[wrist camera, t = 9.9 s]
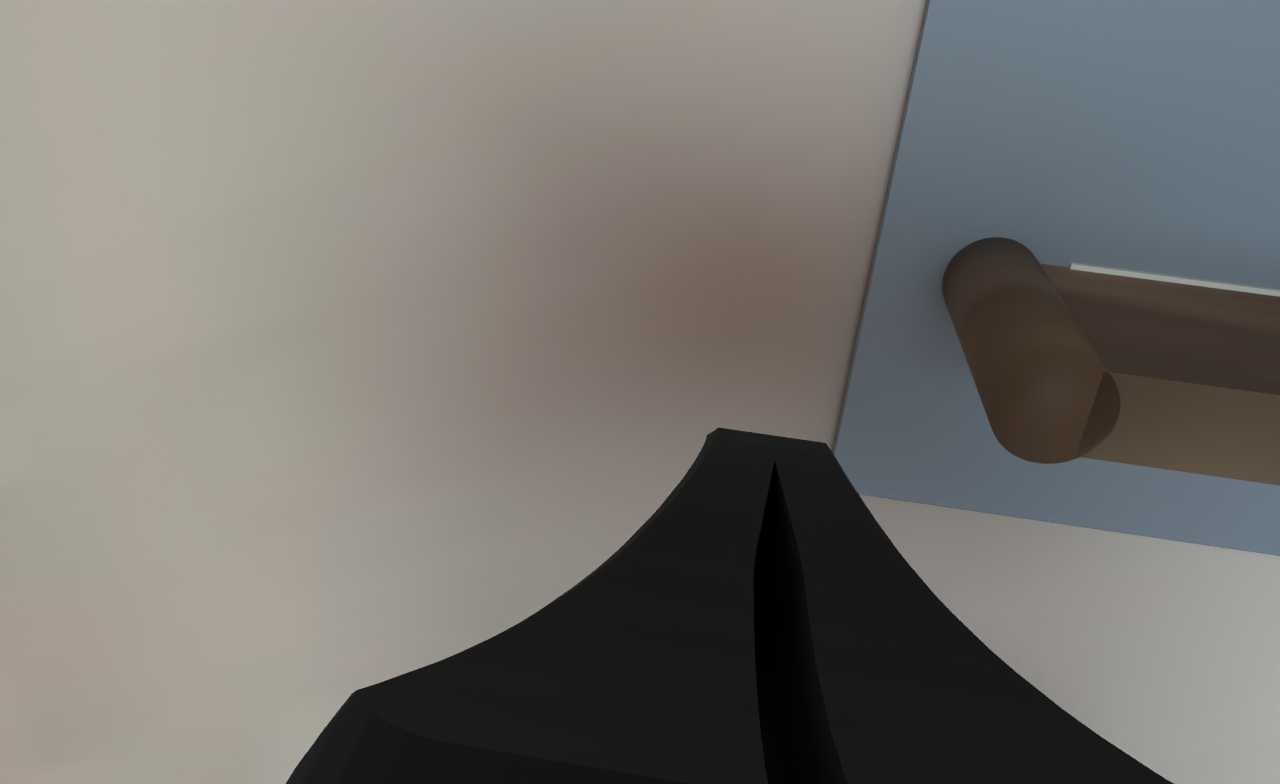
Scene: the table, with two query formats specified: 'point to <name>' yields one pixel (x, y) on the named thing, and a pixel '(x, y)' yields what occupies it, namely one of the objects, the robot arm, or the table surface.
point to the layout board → (1066, 235)
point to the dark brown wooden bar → (1118, 365)
